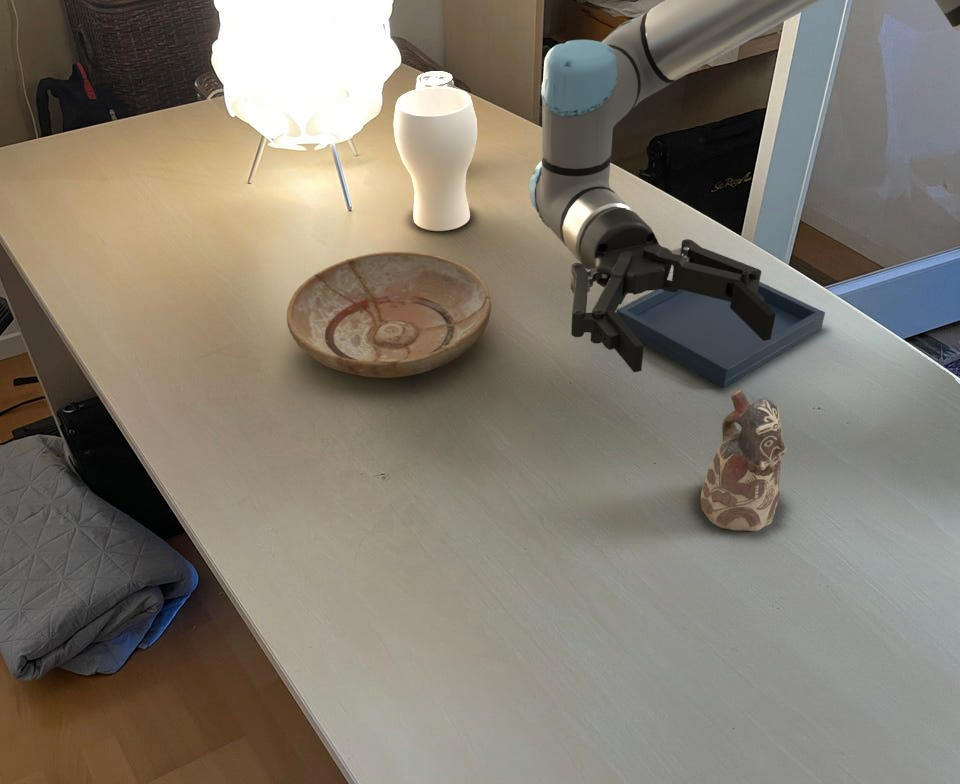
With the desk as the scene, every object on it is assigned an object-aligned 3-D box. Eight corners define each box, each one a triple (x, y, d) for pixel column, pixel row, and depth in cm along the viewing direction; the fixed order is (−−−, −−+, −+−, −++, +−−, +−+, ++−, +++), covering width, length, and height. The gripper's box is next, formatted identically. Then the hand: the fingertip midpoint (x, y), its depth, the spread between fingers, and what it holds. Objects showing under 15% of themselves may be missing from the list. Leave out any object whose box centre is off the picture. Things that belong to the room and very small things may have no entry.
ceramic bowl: (259, 384, 111) (250, 344, 107) (340, 279, 126) (334, 241, 122) (455, 413, 106) (453, 373, 102) (515, 301, 120) (515, 262, 117)
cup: (393, 233, 133) (380, 115, 122) (415, 197, 140) (405, 82, 129) (470, 239, 131) (464, 120, 120) (488, 203, 138) (484, 86, 127)
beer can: (460, 158, 148) (455, 70, 139) (457, 174, 144) (451, 85, 135) (424, 158, 148) (417, 71, 139) (420, 174, 145) (412, 85, 136)
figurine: (738, 543, 91) (760, 436, 82) (684, 503, 95) (699, 397, 86) (792, 510, 94) (819, 404, 85) (737, 473, 98) (757, 367, 89)
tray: (821, 330, 114) (825, 312, 112) (723, 388, 107) (726, 369, 105) (711, 277, 122) (713, 259, 121) (614, 327, 116) (616, 309, 114)
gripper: (710, 251, 111) (813, 349, 98) (501, 297, 106) (580, 407, 93) (719, 184, 105) (830, 278, 92) (500, 230, 101) (583, 336, 87)
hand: (705, 343), depth 92 cm, fingers open, 13 cm apart
